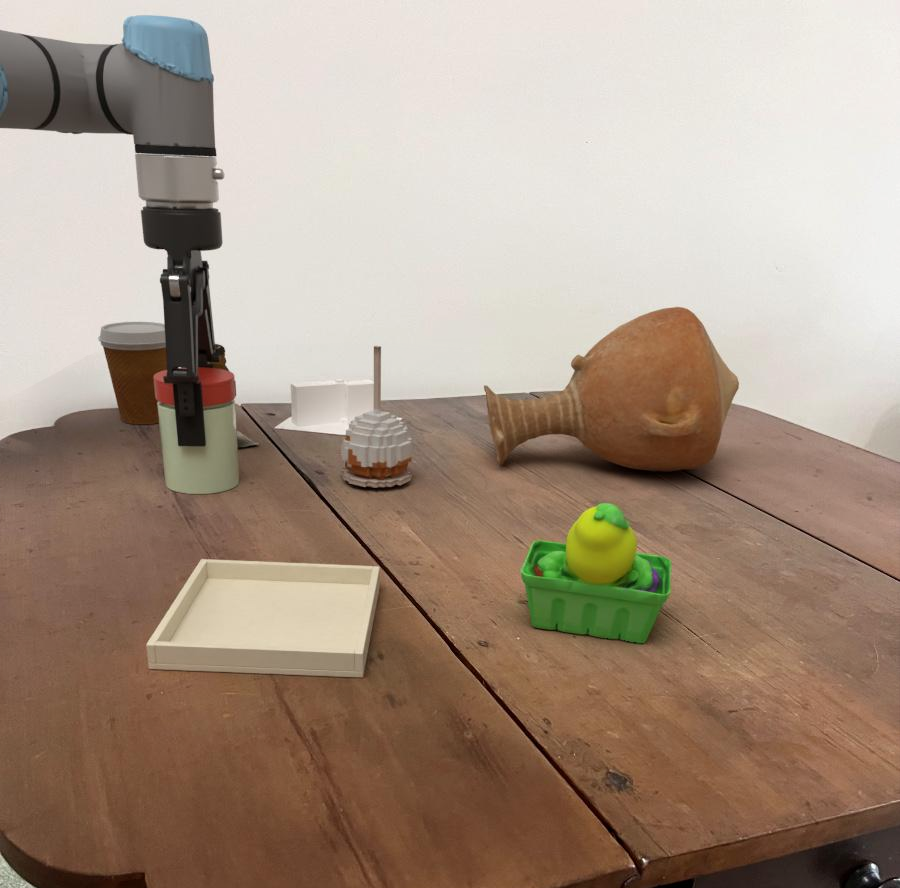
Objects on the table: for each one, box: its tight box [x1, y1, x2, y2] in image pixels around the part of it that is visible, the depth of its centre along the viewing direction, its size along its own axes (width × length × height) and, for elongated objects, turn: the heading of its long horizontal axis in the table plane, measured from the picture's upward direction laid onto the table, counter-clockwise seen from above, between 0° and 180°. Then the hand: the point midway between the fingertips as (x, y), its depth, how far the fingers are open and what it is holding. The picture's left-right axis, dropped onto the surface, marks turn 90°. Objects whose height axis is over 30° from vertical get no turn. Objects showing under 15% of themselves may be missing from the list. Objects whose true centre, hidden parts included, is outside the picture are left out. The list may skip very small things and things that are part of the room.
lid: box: [153, 367, 237, 406], centre depth 97 cm, size 8×8×2 cm
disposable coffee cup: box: [97, 321, 167, 425], centre depth 121 cm, size 10×10×12 cm
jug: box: [483, 306, 740, 473], centre depth 109 cm, size 20×19×30 cm
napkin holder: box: [273, 378, 403, 436], centre depth 125 cm, size 15×11×6 cm
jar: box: [157, 399, 241, 495], centre depth 99 cm, size 8×8×11 cm
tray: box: [145, 558, 381, 678], centre depth 71 cm, size 15×15×2 cm
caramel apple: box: [340, 345, 414, 489], centre depth 101 cm, size 8×8×15 cm
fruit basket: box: [520, 502, 672, 644], centre depth 71 cm, size 11×9×11 cm
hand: (198, 433), depth 99 cm, fingers closed on lid, 8 cm apart
